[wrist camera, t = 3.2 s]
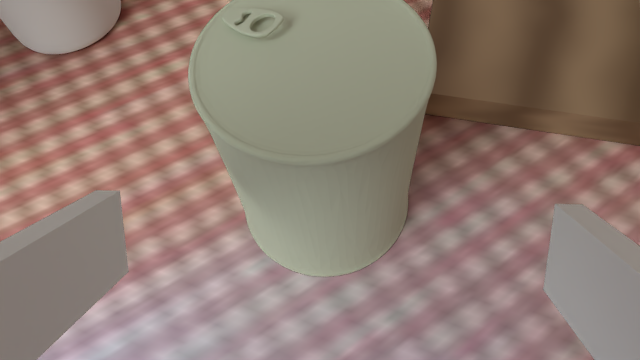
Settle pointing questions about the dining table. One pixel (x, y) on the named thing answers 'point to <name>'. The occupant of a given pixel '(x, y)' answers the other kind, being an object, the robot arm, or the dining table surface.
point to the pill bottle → (59, 22)
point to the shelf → (540, 65)
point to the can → (317, 122)
